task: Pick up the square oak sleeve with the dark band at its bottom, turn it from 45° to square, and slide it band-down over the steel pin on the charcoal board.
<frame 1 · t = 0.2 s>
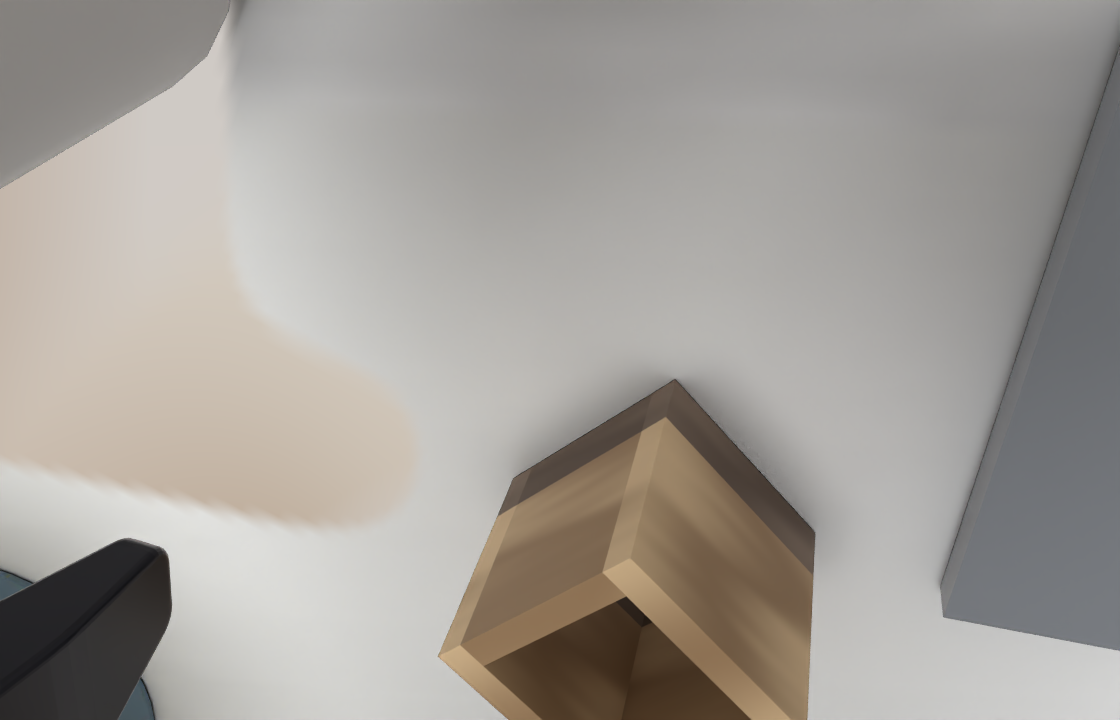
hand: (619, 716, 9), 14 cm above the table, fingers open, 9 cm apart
oak sleeve: (660, 504, 26), on the table
cocktail glass: (19, 666, 37), on the table
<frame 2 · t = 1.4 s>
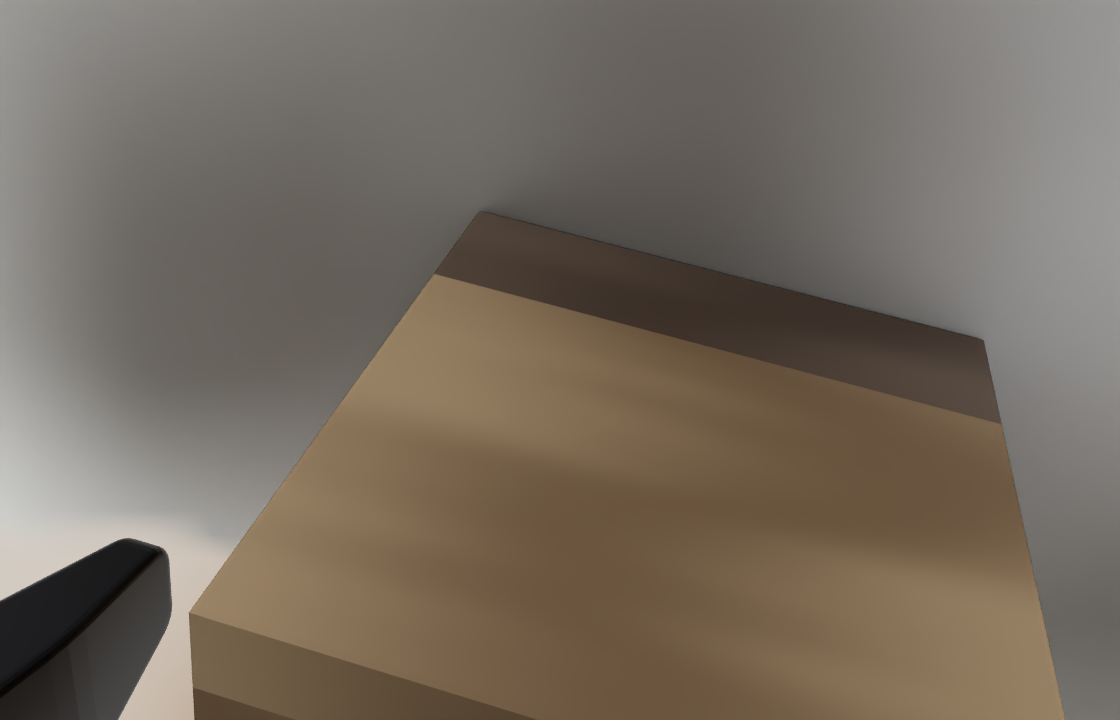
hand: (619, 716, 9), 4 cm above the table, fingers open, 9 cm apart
oak sleeve: (668, 469, 12), on the table
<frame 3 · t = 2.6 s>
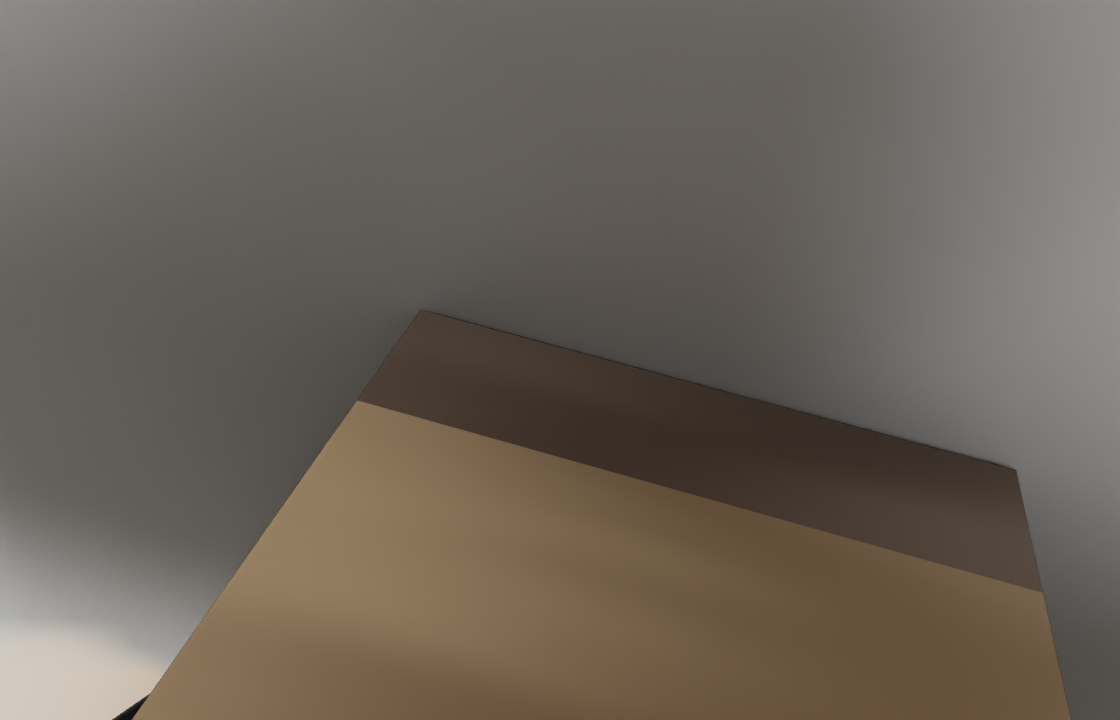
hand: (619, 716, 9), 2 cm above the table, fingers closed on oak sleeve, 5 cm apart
oak sleeve: (646, 597, 11), on the table, touching gripper
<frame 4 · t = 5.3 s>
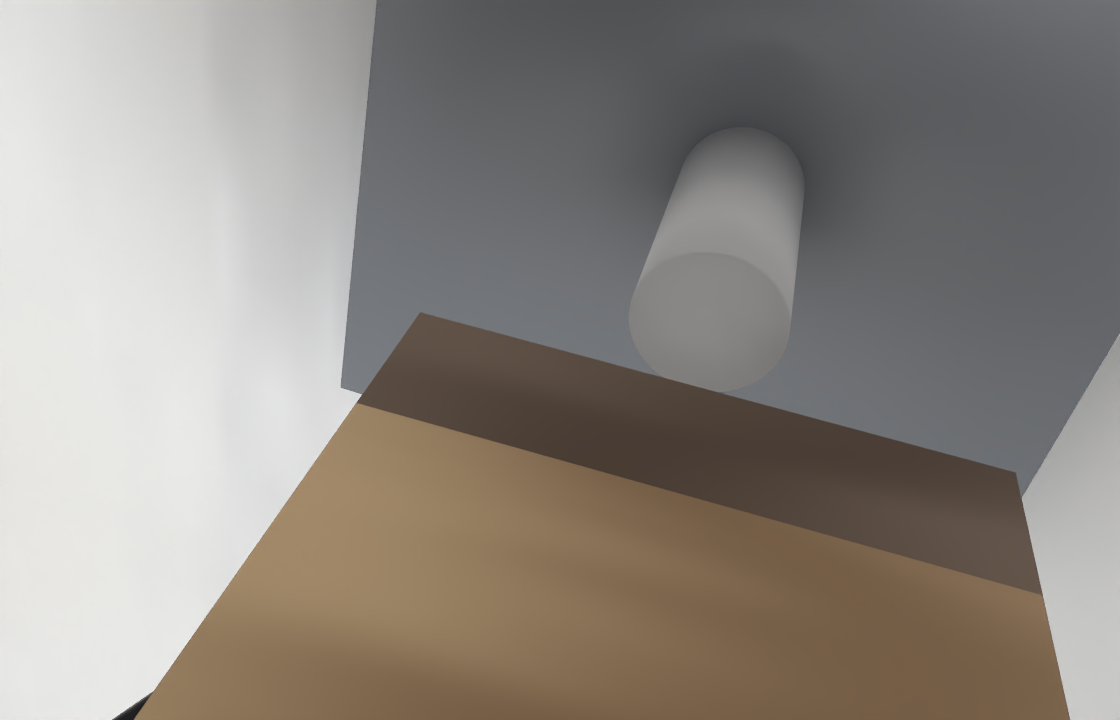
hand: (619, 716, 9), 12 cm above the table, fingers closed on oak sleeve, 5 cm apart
oak sleeve: (645, 599, 11), point 11 cm above the table, touching gripper
pin board: (745, 166, 19), on the table
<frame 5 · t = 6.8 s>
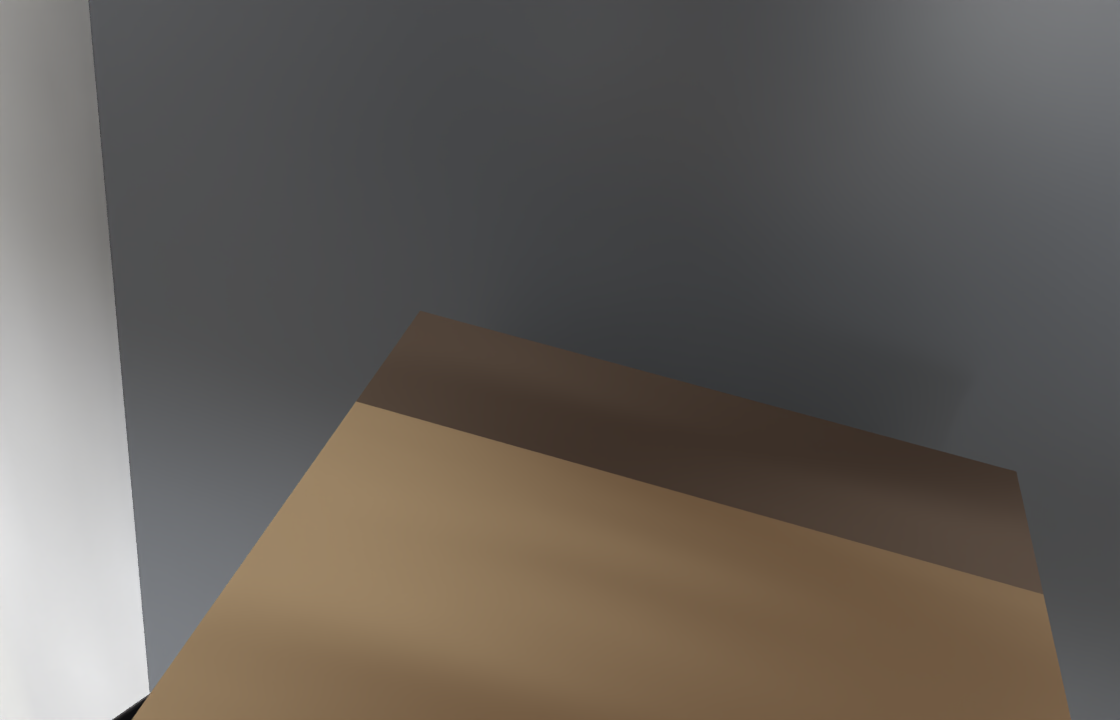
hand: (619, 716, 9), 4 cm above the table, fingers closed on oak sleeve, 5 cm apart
oak sleeve: (645, 598, 11), point 3 cm above the table, touching gripper
pin board: (678, 435, 13), on the table
when the fingers open (3 cm above the table, at t = 7.8 s): oak sleeve stays where it is, resting on pin board.
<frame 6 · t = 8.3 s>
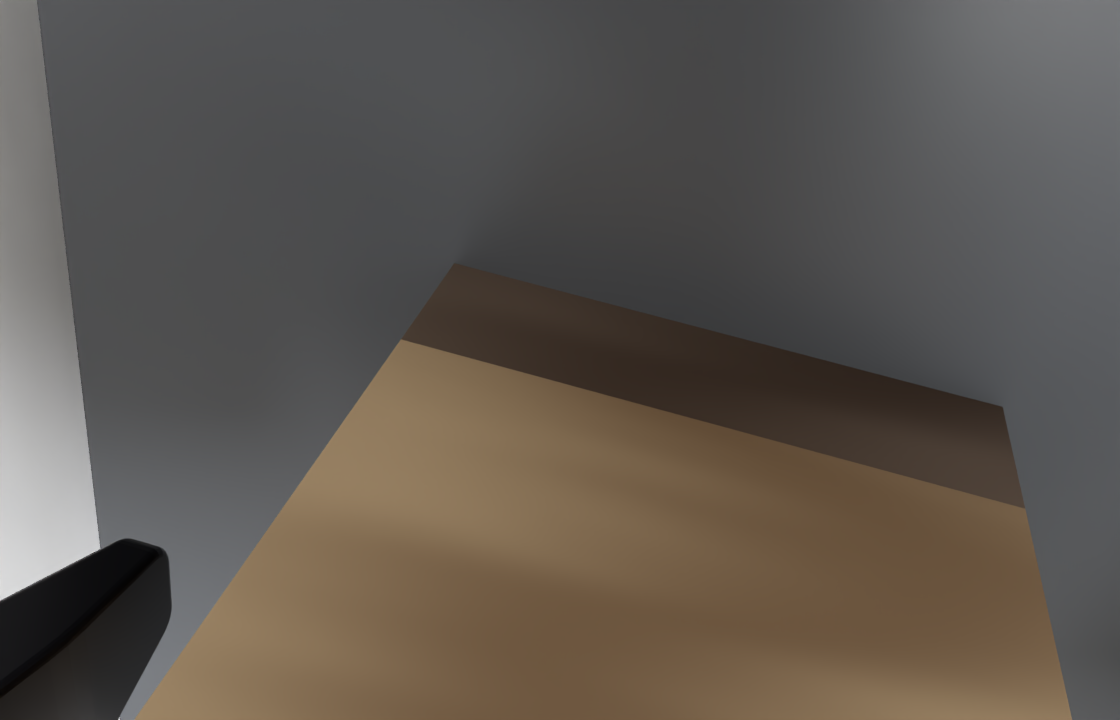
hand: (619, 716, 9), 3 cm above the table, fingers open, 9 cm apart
oak sleeve: (660, 535, 12), point 1 cm above the table, touching pin board
pin board: (671, 478, 12), on the table
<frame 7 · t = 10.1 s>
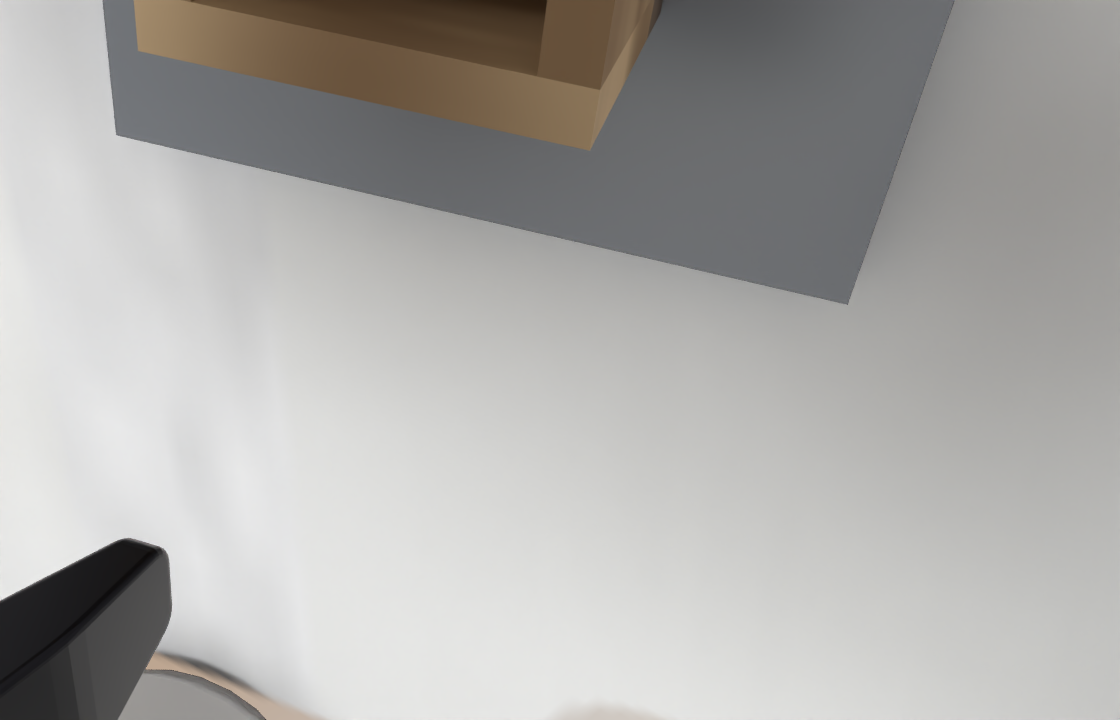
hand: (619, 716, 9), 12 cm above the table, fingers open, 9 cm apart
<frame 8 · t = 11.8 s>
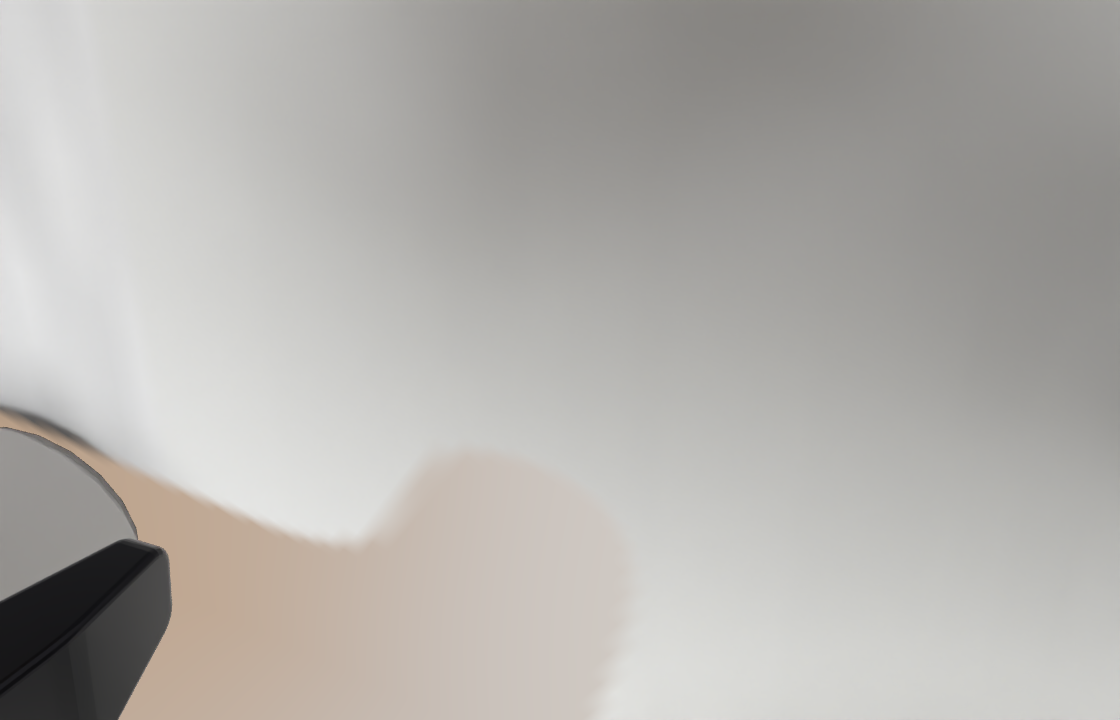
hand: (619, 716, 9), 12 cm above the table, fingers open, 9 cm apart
can: (46, 510, 29), on the table
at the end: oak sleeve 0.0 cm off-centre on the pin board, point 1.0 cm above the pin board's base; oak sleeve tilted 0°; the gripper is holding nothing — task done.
